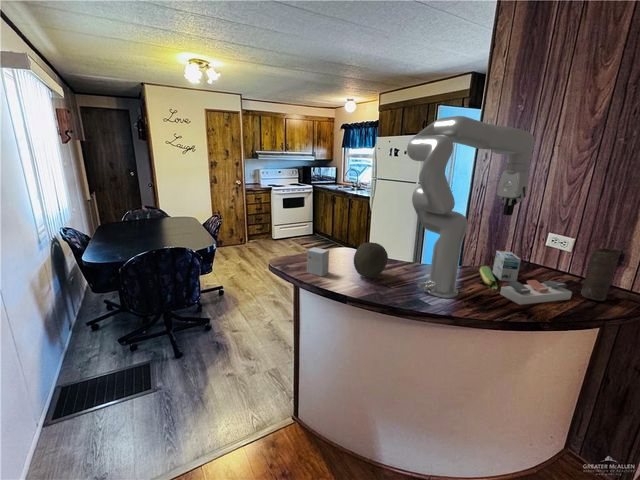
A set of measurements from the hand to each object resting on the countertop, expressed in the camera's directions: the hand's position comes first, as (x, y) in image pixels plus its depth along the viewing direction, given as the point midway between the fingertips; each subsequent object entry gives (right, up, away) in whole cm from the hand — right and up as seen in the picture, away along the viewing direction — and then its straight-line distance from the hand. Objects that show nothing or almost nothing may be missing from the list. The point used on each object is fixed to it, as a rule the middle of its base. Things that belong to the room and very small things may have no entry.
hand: (507, 214), depth 125 cm
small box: (-77, -25, +10) cm, 82 cm away
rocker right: (+15, -27, -5) cm, 32 cm away
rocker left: (-1, -28, -9) cm, 30 cm away
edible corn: (-5, -29, +7) cm, 30 cm away
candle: (+29, -33, -6) cm, 44 cm away
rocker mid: (+7, -28, -7) cm, 29 cm away
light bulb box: (+6, -27, +13) cm, 31 cm away
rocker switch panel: (+7, -32, -6) cm, 33 cm away
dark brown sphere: (-55, -26, +8) cm, 61 cm away
